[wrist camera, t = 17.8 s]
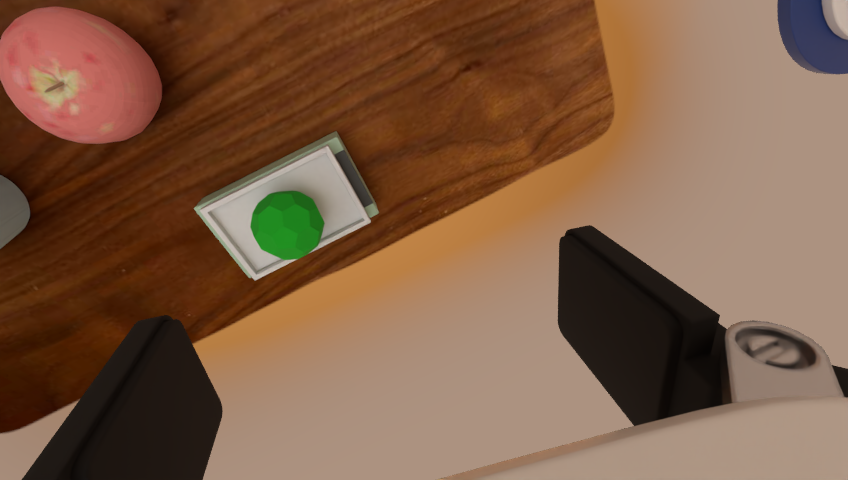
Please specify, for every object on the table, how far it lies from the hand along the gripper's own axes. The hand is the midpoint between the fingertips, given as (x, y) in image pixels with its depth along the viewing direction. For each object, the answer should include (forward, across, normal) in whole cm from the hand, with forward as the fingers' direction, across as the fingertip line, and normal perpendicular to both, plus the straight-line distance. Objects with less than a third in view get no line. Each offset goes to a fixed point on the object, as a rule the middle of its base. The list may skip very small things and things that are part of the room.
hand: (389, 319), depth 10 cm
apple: (+26, +15, -6) cm, 30 cm away
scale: (+25, +6, +5) cm, 27 cm away
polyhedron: (+23, +6, +5) cm, 24 cm away
